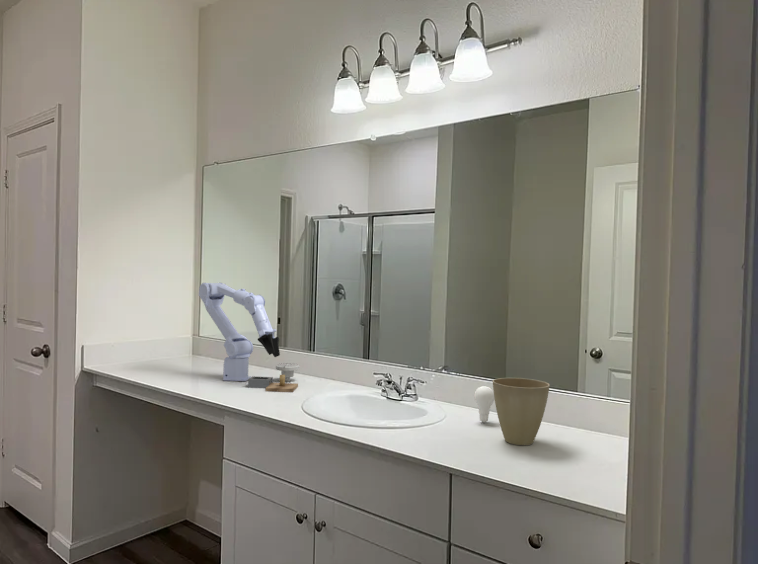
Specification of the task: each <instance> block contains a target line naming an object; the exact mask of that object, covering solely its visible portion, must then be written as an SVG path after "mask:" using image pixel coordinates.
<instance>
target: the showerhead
mask: <svg viewBox="0 0 758 564" xmlns="http://www.w3.org/2000/svg"><path fill="white" fill-rule="evenodd" d="M275 370H276V371H281V373H280V375H285V383H287V382H288V383H289V382H291V378H292V377H294V376H295V375H294V374H295V373H294V372H295V371H299V370H300V364H297V363H294V362H293V363H292V362H289V363H288V362H286V363H285V362H281V363H278V364H276V365H275Z"/></svg>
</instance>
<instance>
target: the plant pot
mask: <svg viewBox="0 0 758 564" xmlns="http://www.w3.org/2000/svg"><path fill="white" fill-rule="evenodd" d="M492 388H493V389H492V390H493V392H494V404H495V410H496V413H497V414H496V415H497V418H498V422H499V426H500V430H501V432H502V435H503V438H504V441H505V442H506V443H509V444H511V445H515V446H516V445H517V446H530V445H533V443H534V441H535V439H536V437H537V435H538V432H539V430H540V427H541V425H542V420H543V418H544V414H545V412H546V406H547V403H548V399H549V398H548V397H549V392H550V383H548V382H546V381H544V380H543V381H542V380H538V379H532V378H524V377H499V378H495V379H493V380H492Z"/></svg>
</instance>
